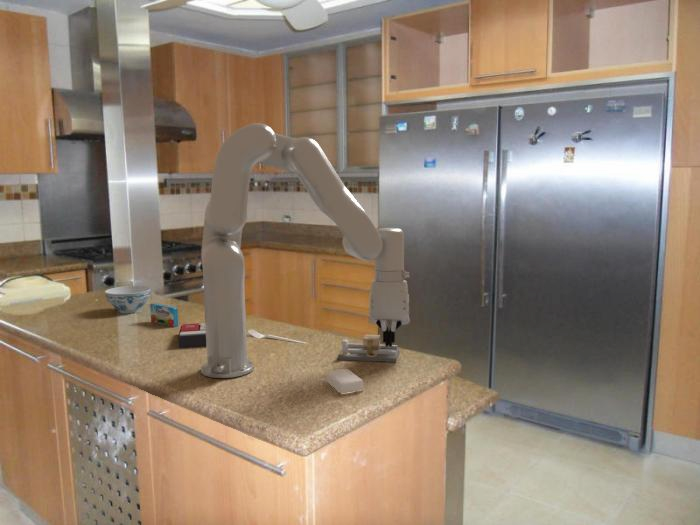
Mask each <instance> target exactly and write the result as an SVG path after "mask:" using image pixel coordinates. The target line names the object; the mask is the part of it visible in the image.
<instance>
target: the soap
mask: <svg viewBox="0 0 700 525" xmlns="http://www.w3.org/2000/svg"><path fill="white" fill-rule="evenodd" d="M327 382H328V383H329V384H330V385H331V386H333V387H334V388H335V389H336V390H337V391H339V392H340V393H347V392H353V391H358V390H363V391H364V381H363V379H362V378H360V377H359V376H358V375H356V374H355V373H353V372H352V371H351V370H350V369H348V368H341V369H334V370H328V371H327V372H326V383H327ZM328 383H327V384H328ZM329 384H328V385H329ZM330 385H329V386H330ZM331 386H330V387H331ZM333 387H332V388H333ZM334 388H333V389H334ZM335 389H334V390H335ZM336 390H335V391H336ZM337 391H336V392H337Z"/></svg>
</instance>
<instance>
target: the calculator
mask: <svg viewBox="0 0 700 525" xmlns="http://www.w3.org/2000/svg"><path fill="white" fill-rule="evenodd" d="M177 340H178V341H177V342H178V343H177V345H178V349H184V348H185V349H186V348H201V346H203V347H206V327H205V322H200V323H199V322H198V323H184V324H182V325H180V329H179V332H178V336H177Z"/></svg>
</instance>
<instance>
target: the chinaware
mask: <svg viewBox="0 0 700 525" xmlns="http://www.w3.org/2000/svg"><path fill="white" fill-rule="evenodd" d="M151 291H152V290H151V287H150V286H144V285H126V286H117V287H112V288H108V289H106V290H105V291H104V294H105V297H106V299H107V300H106V301H108V303H109V304H110V305H111V306H112V307H113V308H114V309H116V310H118V313H120V312H121V313H120V314H134V313H133V312H135V313H138V312H140V309H141V308H142V307H144V305H146V303H147V301H148V300H149V297H150V294H151ZM137 311H138V312H137Z"/></svg>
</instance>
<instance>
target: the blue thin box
mask: <svg viewBox="0 0 700 525" xmlns="http://www.w3.org/2000/svg"><path fill="white" fill-rule="evenodd" d="M149 305H150V306H149V309H150V322H151V323H154V322H155V323H154V324H158V323H159V325H162V324H163V325H164V326H167V325H168V326H167V327H171V326H172V327H171V328H176V326H177V327H179V314H178V307H177V306H172V305H168V304H162V303H156V302H152V303H150V304H149ZM163 325H162V326H163Z"/></svg>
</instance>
